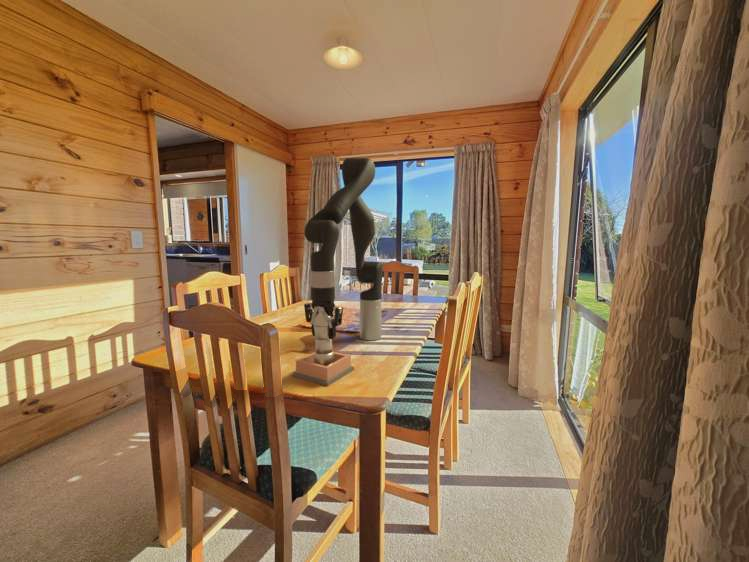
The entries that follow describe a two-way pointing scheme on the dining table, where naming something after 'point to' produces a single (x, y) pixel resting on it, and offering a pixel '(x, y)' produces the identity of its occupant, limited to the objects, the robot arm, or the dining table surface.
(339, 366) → the collar stand
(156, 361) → the dining table surface
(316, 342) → the grey tall ridged piece
